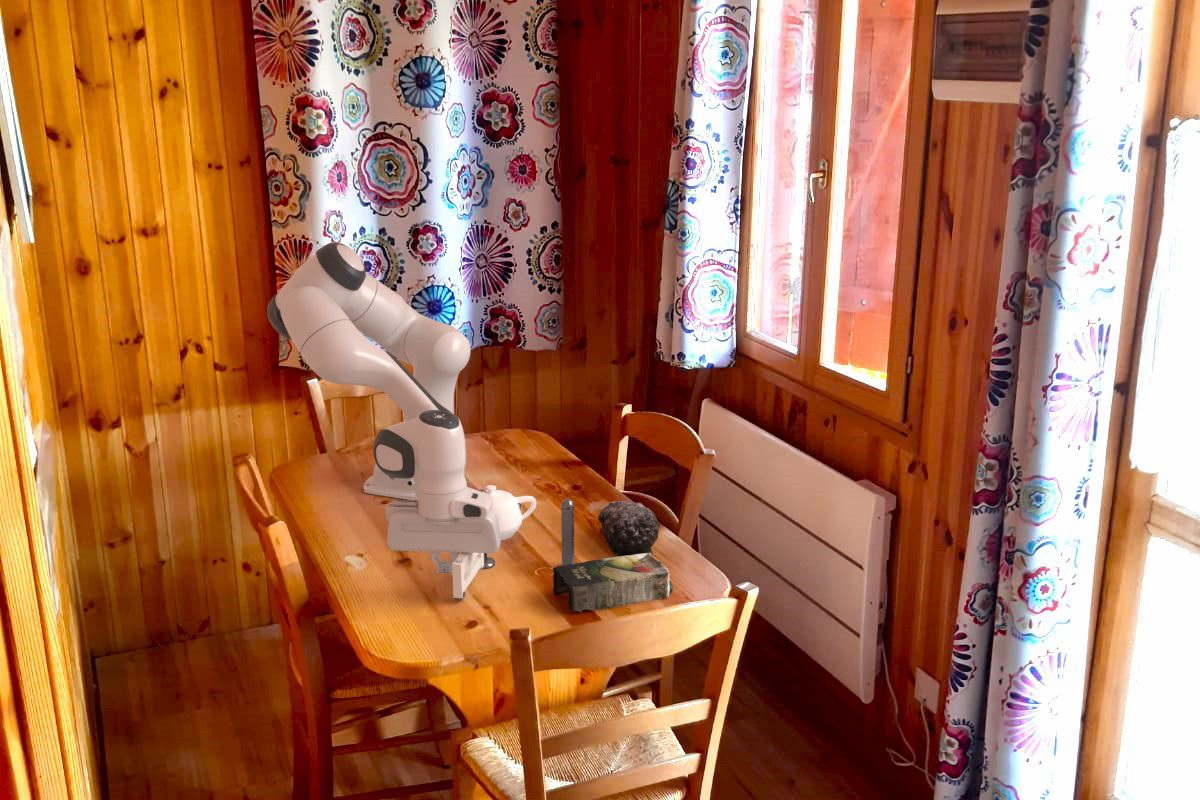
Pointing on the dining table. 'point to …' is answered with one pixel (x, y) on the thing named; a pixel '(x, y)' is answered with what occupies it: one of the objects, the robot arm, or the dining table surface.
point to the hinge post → (487, 560)
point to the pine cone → (628, 528)
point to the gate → (465, 572)
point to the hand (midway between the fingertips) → (445, 572)
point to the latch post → (567, 531)
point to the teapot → (509, 510)
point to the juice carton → (612, 582)
